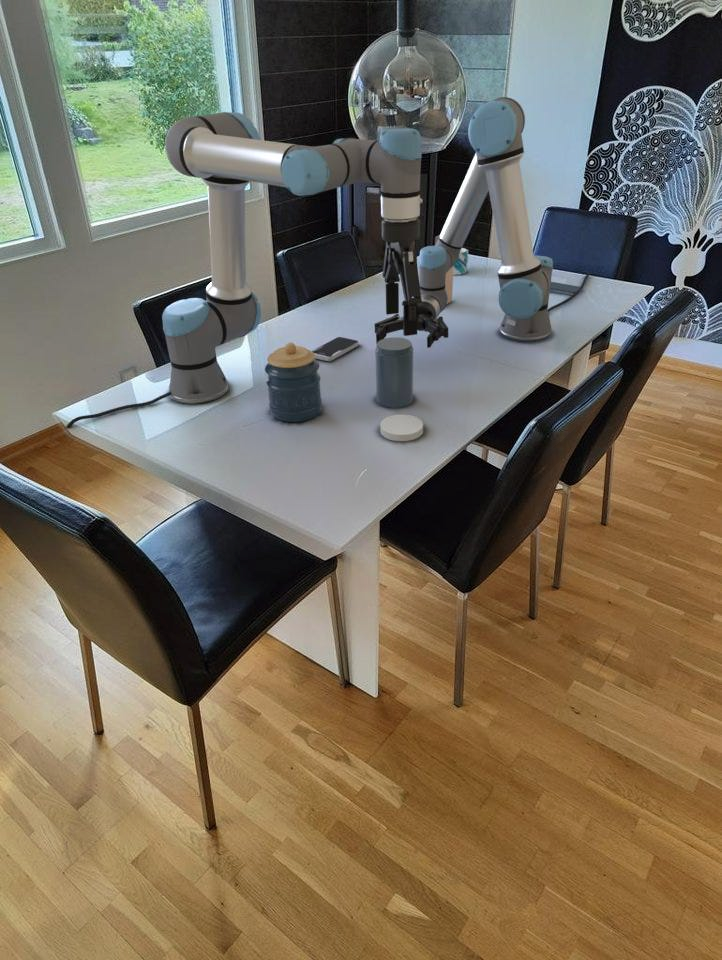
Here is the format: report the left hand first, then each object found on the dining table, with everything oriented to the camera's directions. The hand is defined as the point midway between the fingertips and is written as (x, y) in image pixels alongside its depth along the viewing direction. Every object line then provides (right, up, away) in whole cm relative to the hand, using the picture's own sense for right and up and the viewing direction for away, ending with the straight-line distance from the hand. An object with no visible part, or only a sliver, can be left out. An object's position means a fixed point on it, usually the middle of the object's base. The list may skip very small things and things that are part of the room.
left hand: (400, 323), depth 142 cm
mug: (+30, +49, +122) cm, 135 cm away
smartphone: (-16, +5, +56) cm, 59 cm away
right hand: (+2, +3, +30) cm, 30 cm away
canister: (-25, -16, +24) cm, 38 cm away
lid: (+1, -21, +13) cm, 24 cm away
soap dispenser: (+18, +29, +91) cm, 98 cm away
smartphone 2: (+62, +34, +97) cm, 120 cm away
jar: (0, -13, +28) cm, 31 cm away
